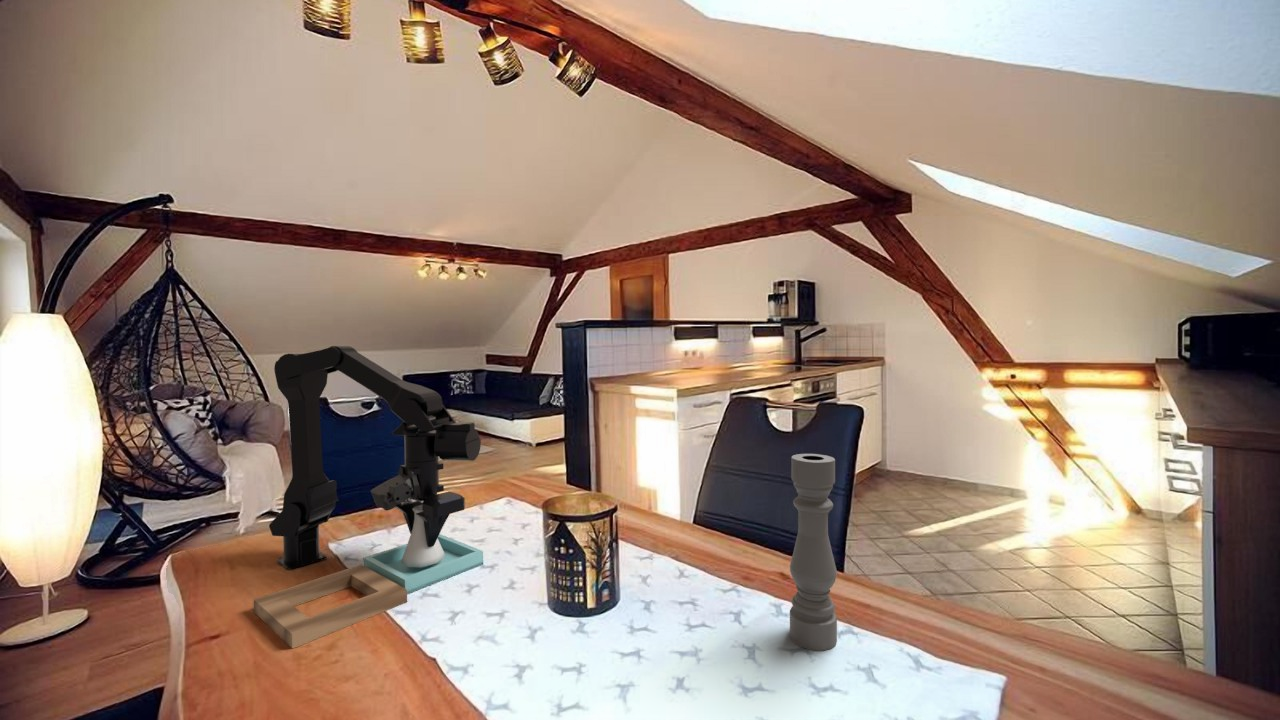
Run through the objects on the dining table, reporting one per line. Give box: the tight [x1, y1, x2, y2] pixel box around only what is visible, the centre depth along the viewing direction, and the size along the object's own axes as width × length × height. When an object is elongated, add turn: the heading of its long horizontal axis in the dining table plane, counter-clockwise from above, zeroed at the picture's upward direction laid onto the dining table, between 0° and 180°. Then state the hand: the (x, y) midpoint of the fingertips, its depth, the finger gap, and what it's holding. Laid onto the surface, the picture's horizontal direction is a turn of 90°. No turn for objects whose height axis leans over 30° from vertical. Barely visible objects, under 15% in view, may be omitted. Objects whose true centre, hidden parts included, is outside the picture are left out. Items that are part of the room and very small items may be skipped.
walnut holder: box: [253, 564, 408, 649], centre depth 81 cm, size 16×16×2 cm
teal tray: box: [362, 533, 484, 595], centre depth 95 cm, size 15×15×2 cm
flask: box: [401, 505, 446, 568], centre depth 95 cm, size 7×7×10 cm
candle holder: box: [789, 453, 838, 652], centre depth 71 cm, size 6×6×25 cm
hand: (423, 543), depth 95 cm, fingers closed on flask, 5 cm apart
